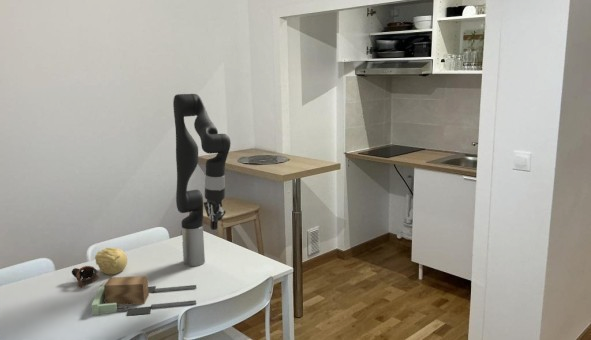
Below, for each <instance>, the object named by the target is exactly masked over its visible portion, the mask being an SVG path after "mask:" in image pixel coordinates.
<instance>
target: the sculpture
mask: <svg viewBox="0 0 591 340" xmlns="http://www.w3.org/2000/svg"><path fill="white" fill-rule="evenodd" d="M94 259H95V263H96V265H97V266H98V269H100V271H101V273H103V274H105V275H108V276H109V275H117V274H119V273H121V272H123V271H124V270H125V269H126V267H127V265H128V257H127V254H126V253H125V251H123V250H122V249H121V248H118V247H106V248H104V249H101V250H100V251H98V252H97V253H96V255H95V257H94Z"/></svg>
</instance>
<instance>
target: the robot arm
mask: <svg viewBox="0 0 591 340" xmlns="http://www.w3.org/2000/svg"><path fill="white" fill-rule="evenodd" d="M172 101H173V102H172V103H173V104H172V105H173V106H172V107H173V117H174V124H175V125H174V126H175V158H176V159H175V162H176V192H175V201H176V203H175V204H176V208H177V211H178V212H179V213H180V214H186V213H190V214H189V215H188V216H186V217H185V218H182V220H181V234H182V236H181V238H182V256H183V258H182V259H183V264H184V266H187V267H198V266H201V265H203V264H204V263H206V259H205V258H206V257H205V240H204V239H205V238H204V209H205V213H206V216H207V217H208V218H209V220H210V225H209V226H210V229H211V230H213V231H215V230H218V223H219V221H221V220H222V219H223V217H224V216H225V214H226V210H225V209H223V202H222V201H223V200H224V199H225V196H226V190H225V189H226V171H225V170H226V162H227V160H228V159H227V158H228V155H229V152H230V149H231V139H230V137H229V135H228V134H227V133H219V131H218V129H217V127H216V125H215V124H214V122H212V120H211V119H210V118H211V117H210V116H209V115H208V111H207V110H206V106H205V105H204V102H203V100H202V98H201V97H200V95H199V94H196V93H180V94H179V93H178V94H175V95H174V97H173V100H172ZM187 117H196V118H195V120H194V123H193V127H194V130H195V132H196V134H197V135H198V136H199V139H200V144H201V149H202V151H203V152H205V153H206V154H209V155H210V154H216V156H214V157H211V158H208V159H207V160H206V162H205V177H204V198H205V200H206V201H204V198H203V194H202V192H201V190H199V189H193V190H192V189H191V190H188V184H189V181H190V180H191V177H192V175H193V174H194V172H195V171H196V168H197V166H198V165H199V146H198V144H197V142H196V140H195V139H194V138H193V136H192V135H191V134H190V131H188V128H187V127H186V123H185V118H187Z"/></svg>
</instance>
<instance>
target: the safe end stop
mask: <svg viewBox="0 0 591 340" xmlns="http://www.w3.org/2000/svg"><path fill="white" fill-rule="evenodd" d="M104 285H105V284H103V285H100V287H99V288H98V290H97V292H96V295H95V296H94V298H93V301H92V303H91V311H92V316H99V315H101V314H110V313H118V312H117V310H116V309H117V308H118V307H117V306H118V305H117V303H109V304H106V303H105V302H106V300H105V290H104Z"/></svg>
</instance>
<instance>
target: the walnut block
mask: <svg viewBox="0 0 591 340" xmlns="http://www.w3.org/2000/svg"><path fill="white" fill-rule="evenodd" d="M148 280H149V279H148V275H146V276H145V275H144V276H142V275H141V276H140V275H139V276H117V277H116V276H115V277H114V276H112V277H109V278H108V279H107V281H106V282H105V284H103V285H104V290H105V304H109V303H117V306H119V305H121V306H122V305H124V306H125V305H144V304H146V301H147V299H148V298H149V295H150V293H149V291H148V287H149V282H148Z"/></svg>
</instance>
